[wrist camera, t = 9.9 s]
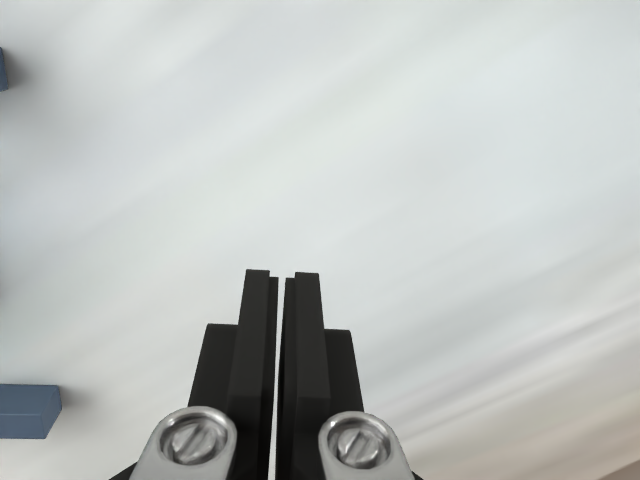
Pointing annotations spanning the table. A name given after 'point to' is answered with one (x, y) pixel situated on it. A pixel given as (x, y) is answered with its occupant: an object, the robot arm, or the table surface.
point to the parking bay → (26, 388)
